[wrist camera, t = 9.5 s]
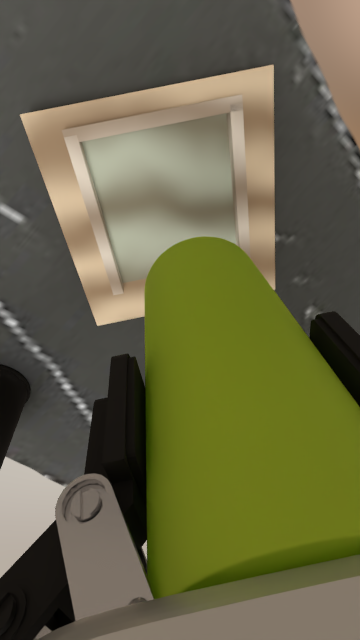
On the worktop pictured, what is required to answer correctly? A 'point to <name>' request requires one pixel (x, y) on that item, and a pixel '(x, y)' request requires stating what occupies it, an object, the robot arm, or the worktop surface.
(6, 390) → the aerosol can
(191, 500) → the soap dispenser
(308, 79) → the worktop surface
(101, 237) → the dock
